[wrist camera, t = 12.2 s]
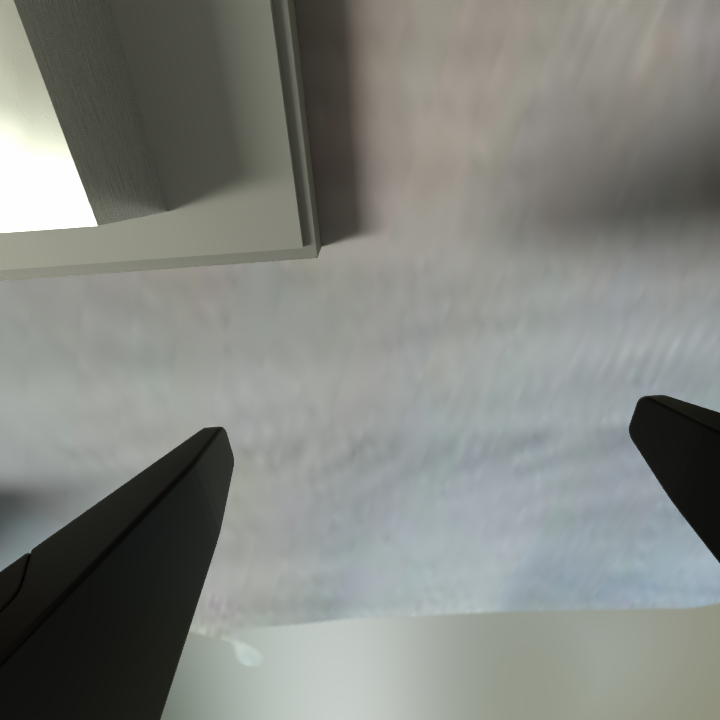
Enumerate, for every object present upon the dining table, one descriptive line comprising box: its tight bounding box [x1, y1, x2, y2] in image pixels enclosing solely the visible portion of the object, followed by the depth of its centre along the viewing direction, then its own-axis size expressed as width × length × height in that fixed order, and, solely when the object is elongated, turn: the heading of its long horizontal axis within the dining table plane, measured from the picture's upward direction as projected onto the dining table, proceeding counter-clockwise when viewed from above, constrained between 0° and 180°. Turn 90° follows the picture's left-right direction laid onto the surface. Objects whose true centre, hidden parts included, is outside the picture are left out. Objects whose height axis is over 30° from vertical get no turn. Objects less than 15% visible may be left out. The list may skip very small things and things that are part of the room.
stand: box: [0, 0, 321, 281], centre depth 13 cm, size 16×14×3 cm
